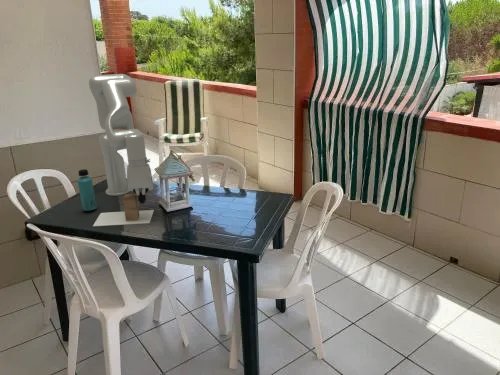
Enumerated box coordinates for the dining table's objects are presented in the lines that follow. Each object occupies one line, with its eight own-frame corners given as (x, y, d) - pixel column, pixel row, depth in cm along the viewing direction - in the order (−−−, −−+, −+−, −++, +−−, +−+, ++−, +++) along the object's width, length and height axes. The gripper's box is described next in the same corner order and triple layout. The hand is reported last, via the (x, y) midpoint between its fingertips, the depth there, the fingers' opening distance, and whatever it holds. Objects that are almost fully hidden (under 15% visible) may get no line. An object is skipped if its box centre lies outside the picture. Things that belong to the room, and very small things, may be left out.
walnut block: (128, 217, 181) (125, 194, 177) (139, 216, 181) (136, 193, 177) (126, 221, 176) (122, 198, 172) (137, 221, 176) (134, 197, 172)
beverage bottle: (92, 214, 185) (85, 172, 178) (79, 213, 187) (72, 172, 180) (100, 208, 191) (93, 168, 184) (87, 207, 193) (80, 167, 186)
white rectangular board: (101, 213, 186) (100, 212, 186) (154, 210, 188) (153, 209, 187) (92, 227, 173) (92, 226, 172) (149, 223, 174) (149, 222, 174)
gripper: (156, 159, 174) (160, 198, 180) (121, 160, 173) (126, 200, 179) (154, 164, 167) (158, 205, 173) (117, 165, 166) (123, 207, 172)
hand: (142, 202), depth 176 cm, fingers closed
